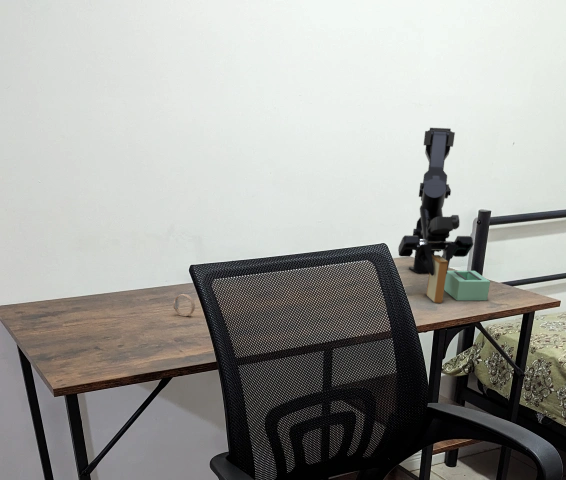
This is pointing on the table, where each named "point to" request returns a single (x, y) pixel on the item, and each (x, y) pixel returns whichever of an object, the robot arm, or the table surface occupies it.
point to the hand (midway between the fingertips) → (439, 274)
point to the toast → (437, 279)
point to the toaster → (466, 285)
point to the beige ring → (176, 305)
